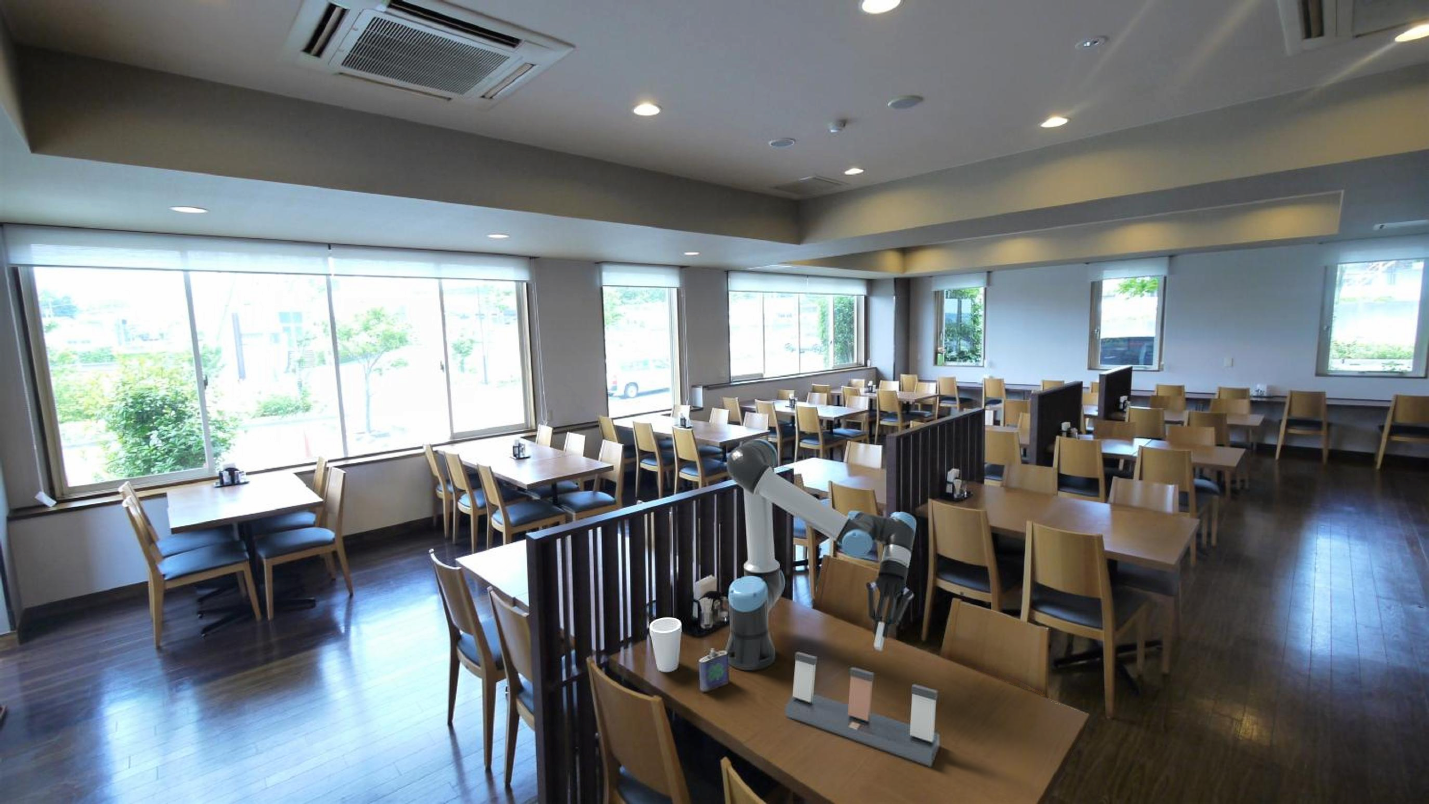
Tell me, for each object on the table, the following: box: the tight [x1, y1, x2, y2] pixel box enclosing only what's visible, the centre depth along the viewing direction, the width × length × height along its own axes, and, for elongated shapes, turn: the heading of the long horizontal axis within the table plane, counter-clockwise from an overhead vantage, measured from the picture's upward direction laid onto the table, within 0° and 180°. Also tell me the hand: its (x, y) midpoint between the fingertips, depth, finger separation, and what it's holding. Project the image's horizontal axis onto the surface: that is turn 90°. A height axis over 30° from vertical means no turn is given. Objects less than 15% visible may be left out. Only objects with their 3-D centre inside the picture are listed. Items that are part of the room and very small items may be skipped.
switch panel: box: [784, 693, 940, 768], centre depth 144 cm, size 8×36×3 cm, turn 57°
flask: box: [698, 647, 730, 693], centre depth 165 cm, size 9×3×11 cm, turn 121°
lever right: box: [909, 683, 938, 742], centre depth 137 cm, size 2×5×11 cm, turn 57°
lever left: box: [792, 651, 818, 702], centre depth 153 cm, size 2×5×11 cm, turn 57°
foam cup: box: [649, 617, 683, 673], centre depth 176 cm, size 10×9×13 cm
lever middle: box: [848, 666, 875, 721], centre depth 145 cm, size 2×5×11 cm, turn 57°
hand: (877, 648), depth 154 cm, fingers closed
